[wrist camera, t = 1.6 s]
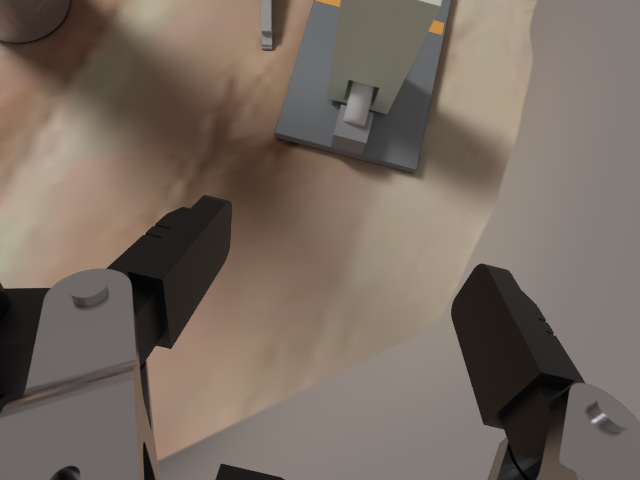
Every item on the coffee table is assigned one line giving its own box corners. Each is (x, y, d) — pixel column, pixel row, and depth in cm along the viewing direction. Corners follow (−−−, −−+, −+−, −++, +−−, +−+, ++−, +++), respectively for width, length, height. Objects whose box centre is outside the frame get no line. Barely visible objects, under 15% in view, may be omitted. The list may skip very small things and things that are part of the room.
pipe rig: (275, 137, 30) (271, 112, 26) (332, -56, 34) (337, -106, 30) (412, 173, 31) (431, 154, 26) (453, -23, 35) (474, -68, 30)
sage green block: (327, 98, 30) (343, -21, 18) (339, 54, 30) (361, -86, 19) (387, 114, 30) (440, 6, 18) (397, 69, 31) (454, -60, 19)
